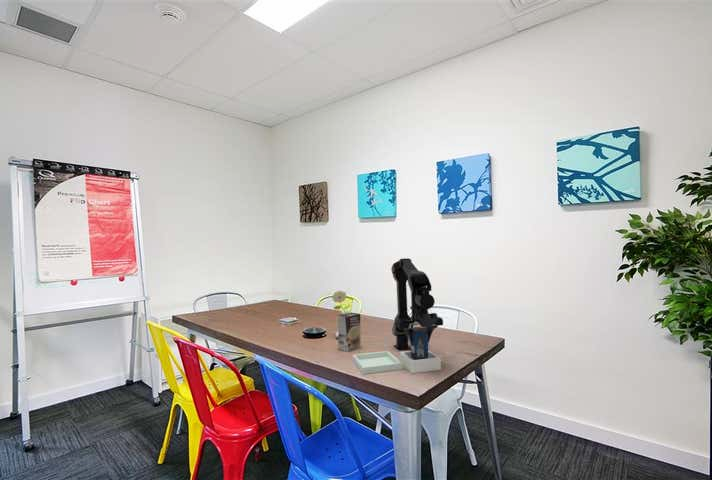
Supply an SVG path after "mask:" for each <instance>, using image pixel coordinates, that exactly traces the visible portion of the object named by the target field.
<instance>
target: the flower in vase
mask: <svg viewBox="0 0 712 480" xmlns="http://www.w3.org/2000/svg"><path fill="white" fill-rule="evenodd" d="M331 298H332V301H333V302H334V303H338V304H340V305H336V306H334V307H333V310H340V309H342V311H340V313H341V315H342V314H348V313H351V310H347V309H349V308H350V306H351V304H349V305H346V306H345V307H343V306H342V303H343V302H345V301H346V299H347V294H346V292H345V291H343V290H337V291H336V292H334V293H333V294H332V296H331ZM335 337H336V338H338V330H337V331H336V333H335Z"/></svg>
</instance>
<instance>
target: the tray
mask: <svg viewBox="0 0 712 480" xmlns="http://www.w3.org/2000/svg"><path fill="white" fill-rule="evenodd" d="M352 362H353V363H354V365H355V366H356V367H357V369H359V371H360V373H362V374H363V375H368V374H375V373H381V372H382V373H384V372H392V371H400V370H403V365H402V363H401V362H400V359H398V358H397V357H396V356H395V355H393V354H392V353H391V352H390V351H389V350H386V351H376V352H366V353H358V354H352Z"/></svg>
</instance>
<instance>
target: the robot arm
mask: <svg viewBox="0 0 712 480" xmlns="http://www.w3.org/2000/svg"><path fill="white" fill-rule="evenodd" d="M391 274H392V277H393V279H394V281H395V282H396V303H397V304H396V305H397V314H396V316H395V317H394V322H393V324H392V325H393V326H392V328H391V331H392V332H391V333H392V335H393V336H394V337H395V341H396V342H395V343H396V344H394V345H393V347H394V348H396V349H397V350H399V351H400V350H401V351H402V350H409V349H410V350H411V345H412V341H413V340H412V330H413V329H412V328H414V326H417V325H419V326H420V327H422V328H426V331H427V332H428V344H429V343H430V340H431V338H432V334H433V332H434V330H435V329H437V328H438V326H443V325H444V319H443V318H442V317H440V316H438V314H437V313H436V312H431V313H429V310H430V309H433V307H434V305H435V303H436V302H435V298H434V296H433V295H432V294H430V292H432V284H431V281H430V279H429V277H428V275H427V274H426V272H424V271H422V270H419V269H418V268H417V267H416V266H415V265H414V263H413V262H412V259H411V258H406V257H405V258H400V259H399V260H397V261H396V262H394V263H393V264H392V265H391ZM407 283H408V284H407ZM407 285H408V287H409V289H410V292H411V293H410V297H411V300H410V301H411V306H409V308H410V310H411V315H409V313H408V295H407V290H408V289H407ZM409 344H410V345H409Z"/></svg>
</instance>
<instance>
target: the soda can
mask: <svg viewBox="0 0 712 480" xmlns="http://www.w3.org/2000/svg"><path fill="white" fill-rule="evenodd" d="M412 329H413V330H412V340H413V341H412V345H411V344H410V347H411V349H410V351H411V357H412V359H413V360H420V359H427V358H428V350H429V343H428V332H427V331H426V328H425V327H424V328H423V327H421V326H420V327H419V326H415V327H414V326H413V328H412Z"/></svg>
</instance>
